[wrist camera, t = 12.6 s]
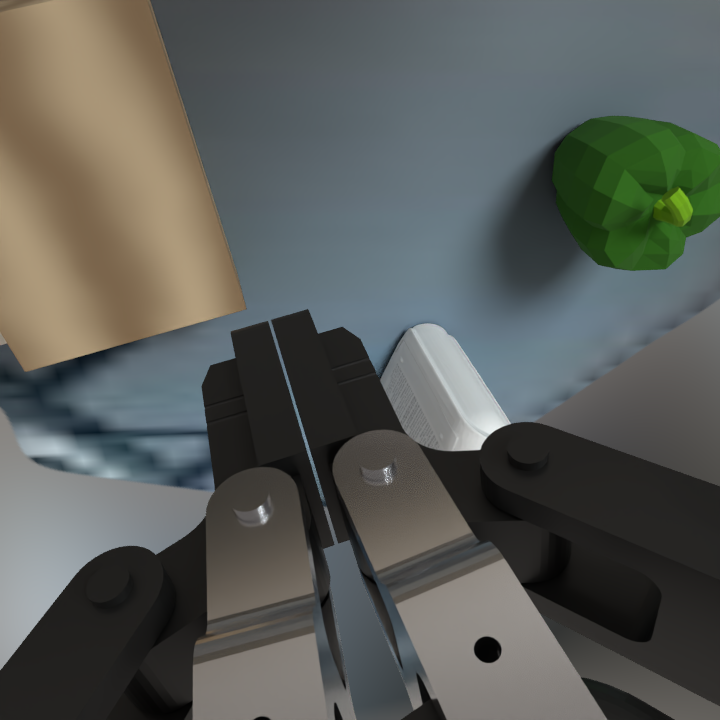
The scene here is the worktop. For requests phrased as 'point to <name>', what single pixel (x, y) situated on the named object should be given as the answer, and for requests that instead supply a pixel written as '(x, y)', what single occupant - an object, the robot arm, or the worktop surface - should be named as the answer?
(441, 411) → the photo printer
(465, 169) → the worktop surface
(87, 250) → the oak deck
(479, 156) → the worktop surface
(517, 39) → the worktop surface
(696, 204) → the bell pepper
